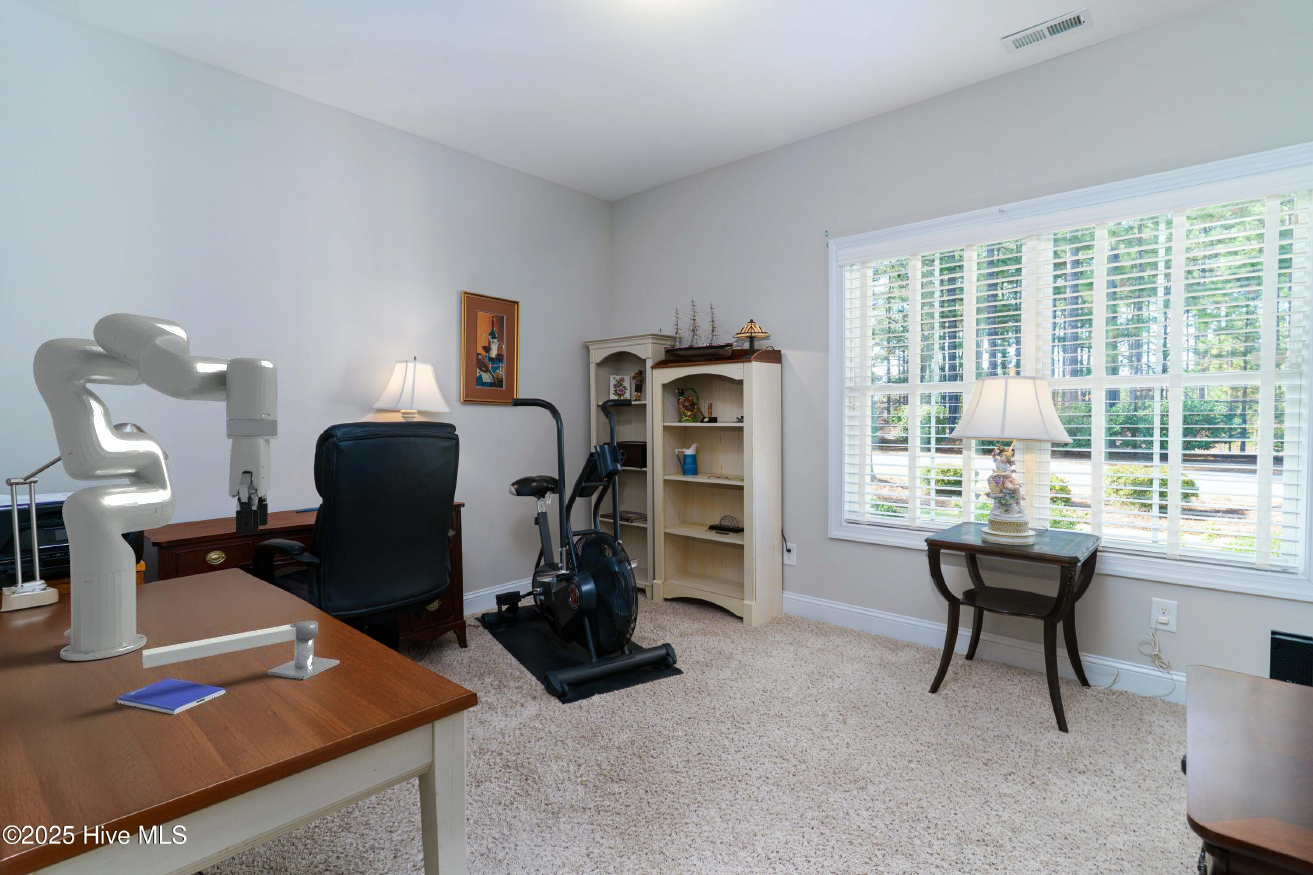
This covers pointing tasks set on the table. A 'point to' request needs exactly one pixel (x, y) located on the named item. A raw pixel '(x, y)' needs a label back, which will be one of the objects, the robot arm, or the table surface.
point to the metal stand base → (303, 662)
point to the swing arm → (228, 643)
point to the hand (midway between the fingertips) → (252, 529)
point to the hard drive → (170, 696)
